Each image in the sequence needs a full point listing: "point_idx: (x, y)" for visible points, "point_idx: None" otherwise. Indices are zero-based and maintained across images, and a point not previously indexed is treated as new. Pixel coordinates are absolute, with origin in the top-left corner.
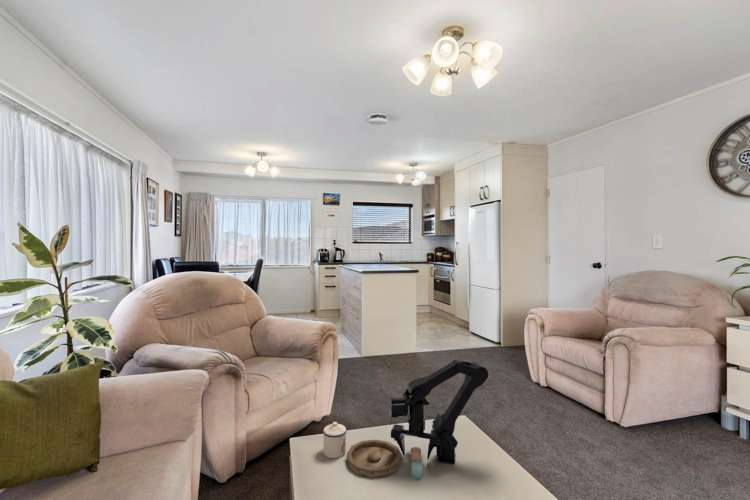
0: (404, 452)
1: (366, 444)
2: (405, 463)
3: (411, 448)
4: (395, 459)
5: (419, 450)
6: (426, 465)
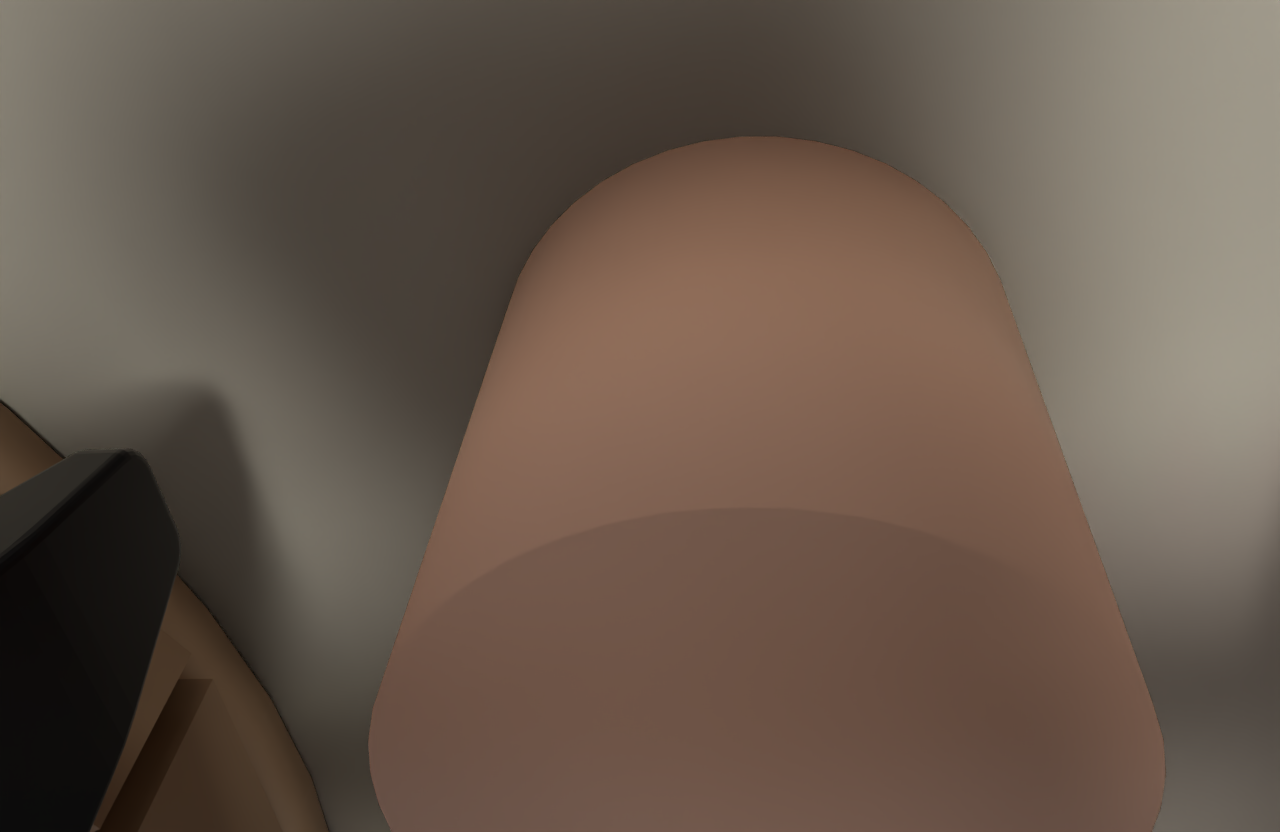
0: (109, 620)
1: None
2: None
3: (390, 732)
4: None
5: (1024, 785)
6: (1276, 541)
